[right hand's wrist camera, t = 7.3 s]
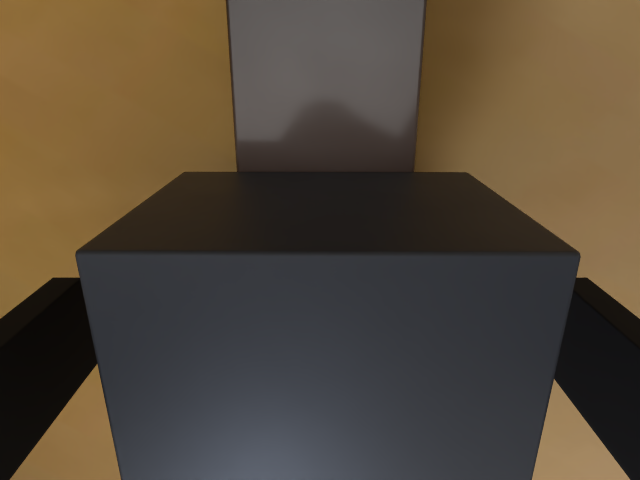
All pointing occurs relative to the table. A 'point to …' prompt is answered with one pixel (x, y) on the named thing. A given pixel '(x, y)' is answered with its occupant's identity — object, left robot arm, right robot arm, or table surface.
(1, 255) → the table surface
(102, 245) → the cap block
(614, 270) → the table surface
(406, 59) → the dark wooden beam
